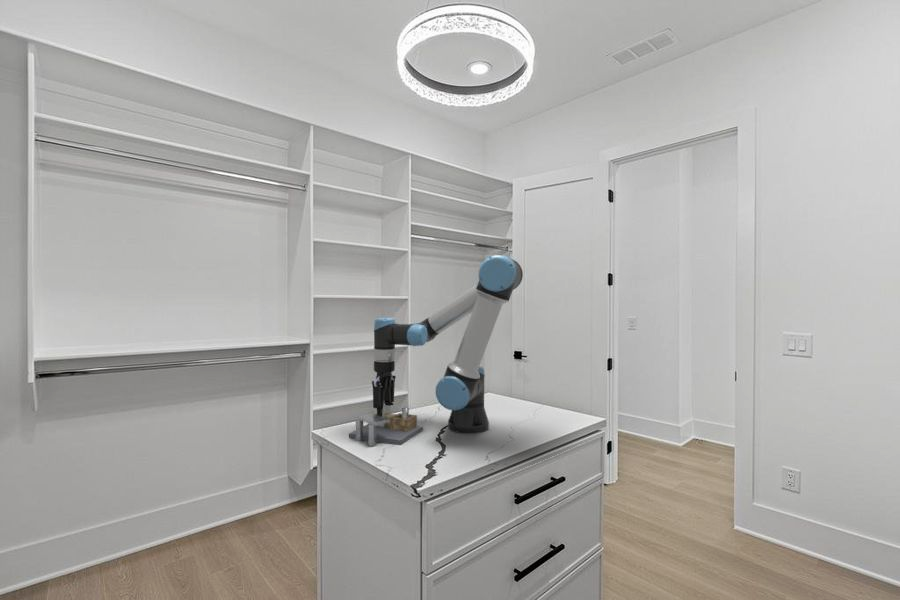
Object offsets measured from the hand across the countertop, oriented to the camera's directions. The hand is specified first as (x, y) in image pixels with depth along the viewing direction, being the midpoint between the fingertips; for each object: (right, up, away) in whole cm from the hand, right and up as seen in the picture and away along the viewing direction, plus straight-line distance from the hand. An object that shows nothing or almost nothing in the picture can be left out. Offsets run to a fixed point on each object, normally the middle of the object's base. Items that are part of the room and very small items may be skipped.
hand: (383, 424), depth 161 cm
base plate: (+2, -2, -6) cm, 6 cm away
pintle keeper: (+1, -2, -9) cm, 9 cm away
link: (+3, 0, -1) cm, 3 cm away
